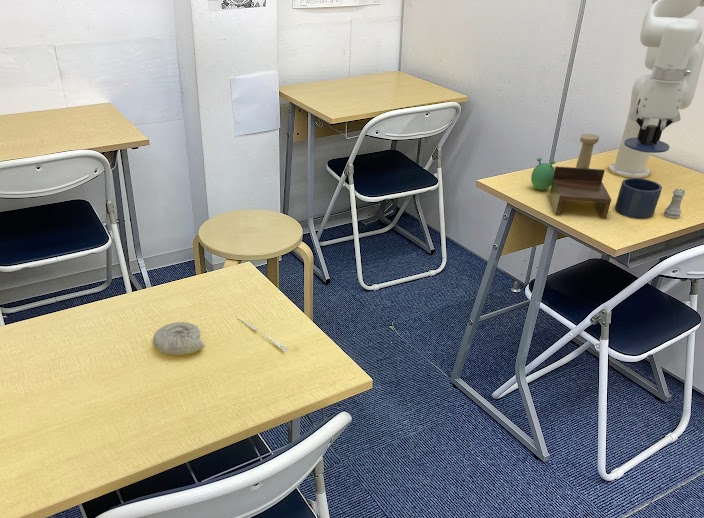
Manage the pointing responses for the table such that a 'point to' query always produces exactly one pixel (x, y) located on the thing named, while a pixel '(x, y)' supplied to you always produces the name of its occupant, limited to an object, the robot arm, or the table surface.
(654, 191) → the pot
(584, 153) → the handle
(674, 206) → the rook chess piece
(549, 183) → the alien toy
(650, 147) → the lid
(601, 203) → the shelf
